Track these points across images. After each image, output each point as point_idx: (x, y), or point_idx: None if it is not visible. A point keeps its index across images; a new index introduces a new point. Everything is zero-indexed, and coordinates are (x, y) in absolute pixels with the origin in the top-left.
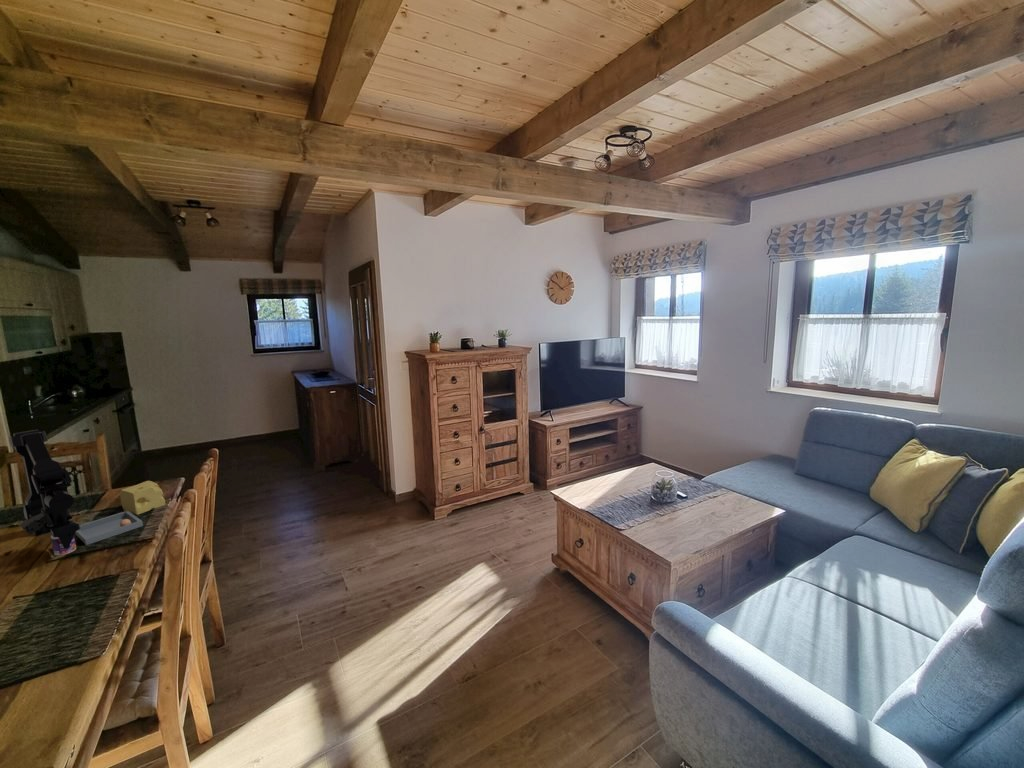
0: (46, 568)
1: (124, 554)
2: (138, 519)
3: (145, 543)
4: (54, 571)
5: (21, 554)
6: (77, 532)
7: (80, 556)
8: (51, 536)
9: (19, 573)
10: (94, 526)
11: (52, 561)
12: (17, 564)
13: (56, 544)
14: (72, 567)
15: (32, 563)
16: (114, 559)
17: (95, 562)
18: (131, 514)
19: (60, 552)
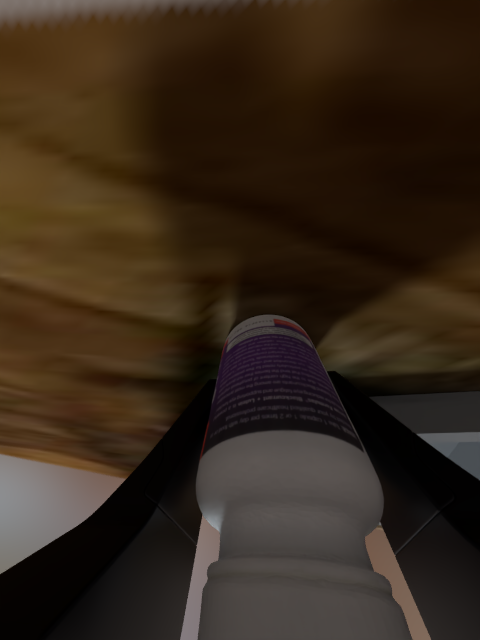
0: (114, 273)
1: (93, 445)
2: None
3: None
4: (52, 300)
5: None
6: (424, 432)
7: (166, 380)
8: (277, 469)
9: (130, 114)
10: (457, 448)
11: (196, 299)
12: (358, 84)
13: (224, 389)
14: (63, 353)
15: (262, 204)
16: (68, 430)
17: (72, 401)
18: (380, 523)
19: (223, 349)
